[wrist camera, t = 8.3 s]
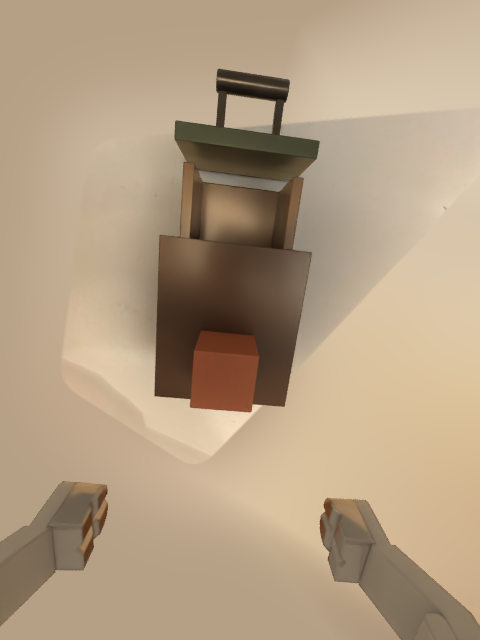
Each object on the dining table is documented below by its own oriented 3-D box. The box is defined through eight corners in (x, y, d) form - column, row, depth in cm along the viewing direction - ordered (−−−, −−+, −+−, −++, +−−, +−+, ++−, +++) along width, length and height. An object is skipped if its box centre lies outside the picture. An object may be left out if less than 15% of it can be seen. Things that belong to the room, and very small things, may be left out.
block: (201, 330, 22) (193, 350, 18) (254, 335, 23) (259, 356, 18) (197, 378, 24) (189, 408, 19) (247, 382, 24) (251, 412, 20)
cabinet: (181, 237, 30) (159, 234, 20) (287, 249, 30) (312, 252, 21) (175, 353, 33) (154, 396, 24) (270, 362, 34) (284, 406, 25)
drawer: (194, 97, 25) (178, 36, 18) (303, 113, 26) (333, 61, 18) (183, 282, 30) (167, 295, 22) (277, 292, 31) (292, 308, 23)
